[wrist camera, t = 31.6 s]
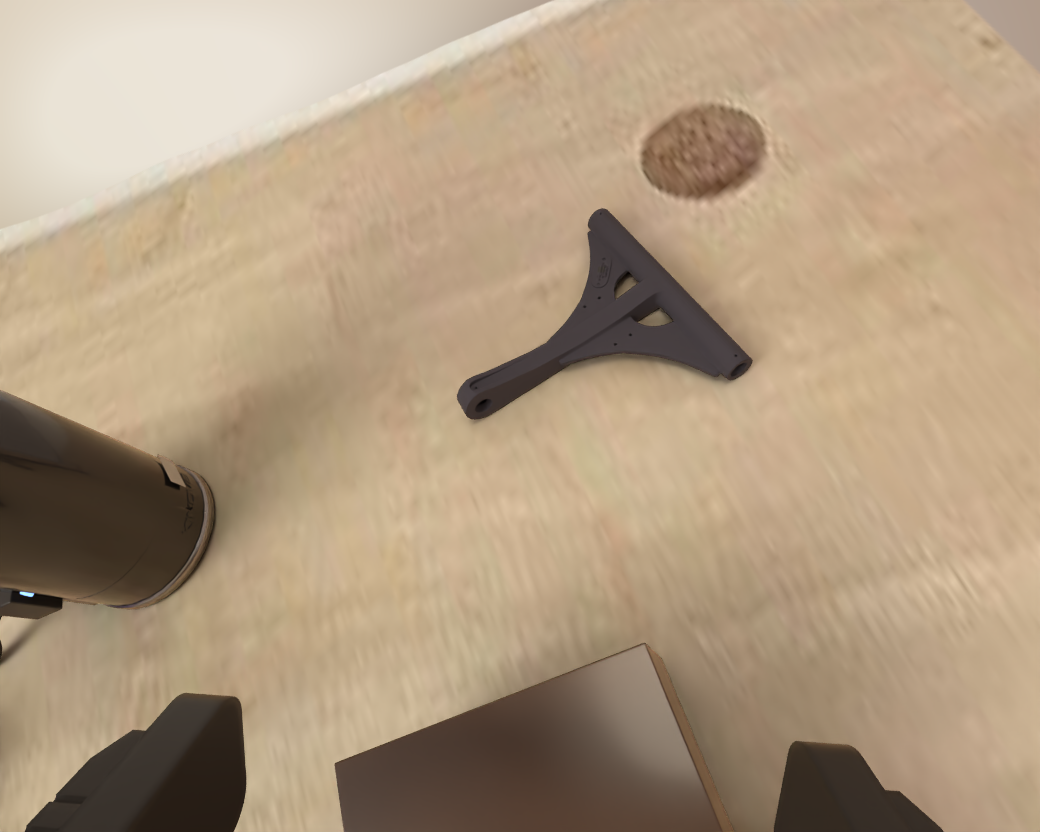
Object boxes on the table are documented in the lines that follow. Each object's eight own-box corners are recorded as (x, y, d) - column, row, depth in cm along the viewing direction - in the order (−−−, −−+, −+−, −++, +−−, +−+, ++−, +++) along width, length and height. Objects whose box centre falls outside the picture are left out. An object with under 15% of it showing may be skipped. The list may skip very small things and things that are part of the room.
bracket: (425, 339, 39) (407, 316, 37) (610, 221, 39) (604, 190, 37) (526, 513, 32) (512, 499, 30) (751, 370, 32) (755, 344, 30)
